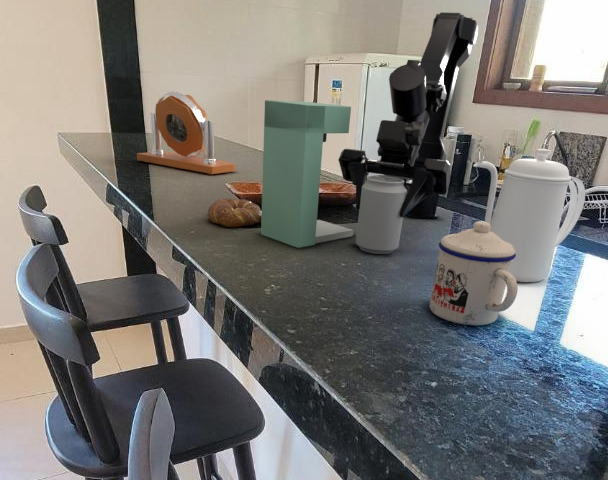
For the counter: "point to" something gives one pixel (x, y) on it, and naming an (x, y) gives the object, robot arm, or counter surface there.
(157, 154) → the desk clock
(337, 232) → the coffee maker
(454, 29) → the robot arm
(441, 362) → the counter surface
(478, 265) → the teacup with lid
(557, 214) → the coffeepot
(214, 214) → the pretzel
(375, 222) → the can
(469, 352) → the counter surface
